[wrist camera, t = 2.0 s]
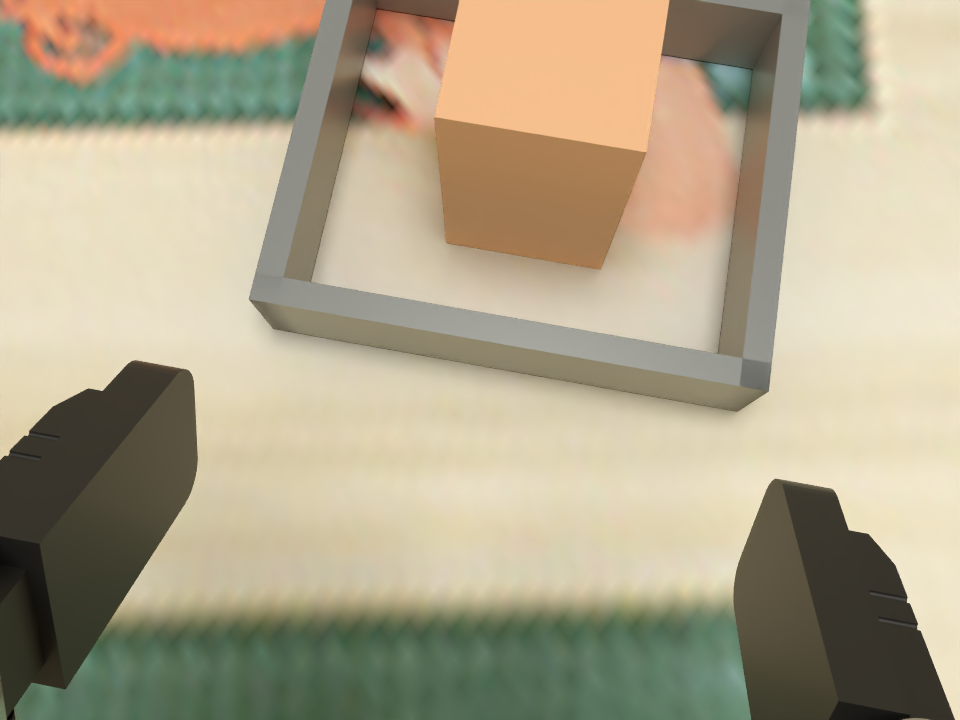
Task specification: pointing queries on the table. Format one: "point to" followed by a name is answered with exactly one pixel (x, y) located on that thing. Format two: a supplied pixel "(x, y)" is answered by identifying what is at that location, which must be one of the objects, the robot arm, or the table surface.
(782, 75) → the grey rectangular frame
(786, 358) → the table surface
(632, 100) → the block
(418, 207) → the table surface
